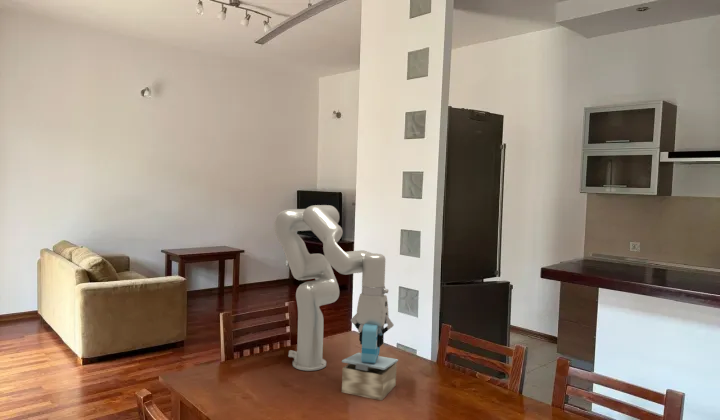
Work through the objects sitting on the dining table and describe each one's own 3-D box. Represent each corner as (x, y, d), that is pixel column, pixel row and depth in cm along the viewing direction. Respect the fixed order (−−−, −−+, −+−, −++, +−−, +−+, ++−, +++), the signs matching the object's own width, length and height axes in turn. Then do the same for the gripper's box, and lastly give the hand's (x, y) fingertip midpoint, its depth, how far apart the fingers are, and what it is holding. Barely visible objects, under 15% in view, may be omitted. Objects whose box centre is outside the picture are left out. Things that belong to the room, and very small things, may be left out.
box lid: (340, 365, 165) (340, 361, 165) (357, 357, 179) (358, 352, 180) (382, 373, 160) (383, 368, 160) (397, 364, 174) (398, 359, 174)
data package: (374, 364, 163) (376, 328, 163) (360, 363, 164) (362, 326, 164) (379, 352, 175) (381, 318, 175) (366, 351, 176) (368, 317, 175)
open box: (341, 392, 167) (342, 368, 166) (358, 377, 179) (358, 355, 179) (381, 400, 161) (382, 375, 161) (395, 384, 174) (396, 362, 174)
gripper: (401, 291, 169) (399, 345, 170) (353, 286, 175) (352, 338, 176) (393, 296, 162) (391, 352, 163) (344, 290, 168) (343, 344, 169)
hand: (371, 344), depth 170 cm, fingers closed on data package, 5 cm apart
